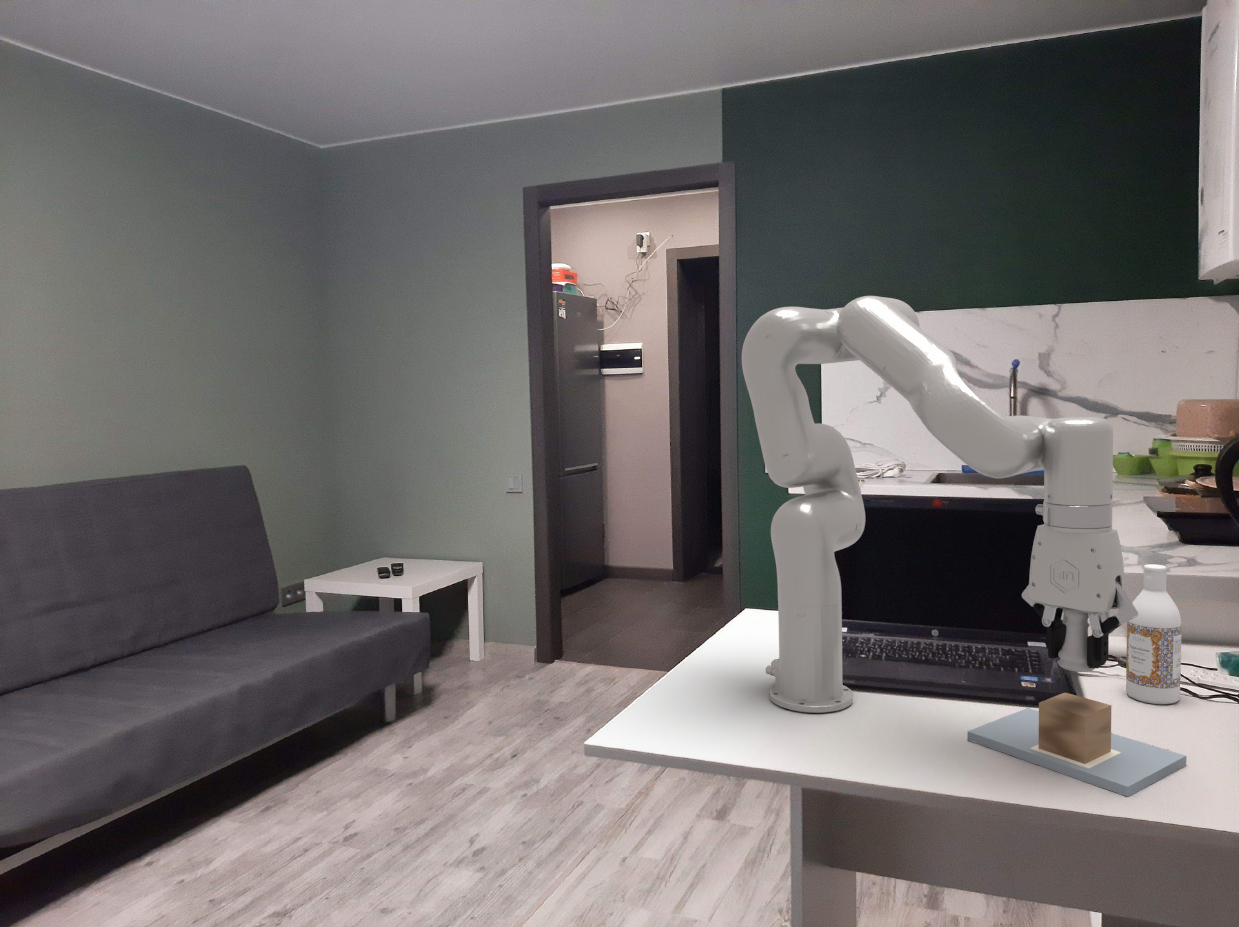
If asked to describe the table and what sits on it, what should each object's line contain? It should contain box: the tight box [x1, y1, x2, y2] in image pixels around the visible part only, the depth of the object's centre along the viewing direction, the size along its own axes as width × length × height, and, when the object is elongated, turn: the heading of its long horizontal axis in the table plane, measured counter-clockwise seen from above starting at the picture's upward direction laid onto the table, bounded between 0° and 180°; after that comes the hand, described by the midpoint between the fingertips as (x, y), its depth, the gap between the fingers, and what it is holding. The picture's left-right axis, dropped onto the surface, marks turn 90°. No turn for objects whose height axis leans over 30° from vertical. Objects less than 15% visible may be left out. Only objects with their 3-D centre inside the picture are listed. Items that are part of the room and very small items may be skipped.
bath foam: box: [1125, 563, 1183, 705], centre depth 132 cm, size 7×7×20 cm
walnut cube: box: [1038, 692, 1112, 764], centre depth 112 cm, size 6×6×6 cm
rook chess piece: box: [1056, 609, 1096, 673], centre depth 111 cm, size 4×4×8 cm
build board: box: [967, 707, 1187, 798], centre depth 115 cm, size 21×14×1 cm, turn 34°
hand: (1076, 659), depth 111 cm, fingers closed on rook chess piece, 4 cm apart
